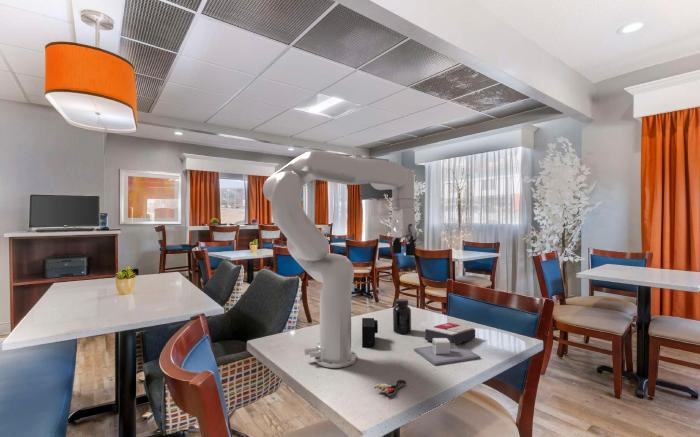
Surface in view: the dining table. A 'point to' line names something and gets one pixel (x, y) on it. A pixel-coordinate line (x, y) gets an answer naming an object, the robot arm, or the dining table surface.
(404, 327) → the supplement bottle
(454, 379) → the dining table surface
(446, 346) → the usb wall charger
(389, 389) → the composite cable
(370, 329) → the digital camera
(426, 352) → the desk pad
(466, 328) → the grey product box
